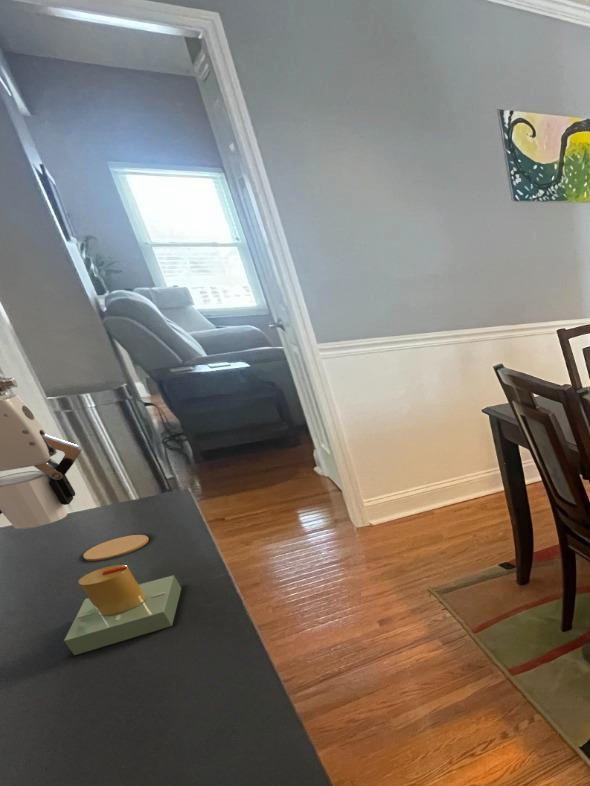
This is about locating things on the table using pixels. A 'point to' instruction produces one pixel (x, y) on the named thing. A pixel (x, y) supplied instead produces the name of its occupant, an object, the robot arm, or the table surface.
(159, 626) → the base
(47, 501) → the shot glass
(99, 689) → the table surface
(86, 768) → the table surface
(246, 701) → the table surface
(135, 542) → the coaster
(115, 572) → the tap handle
